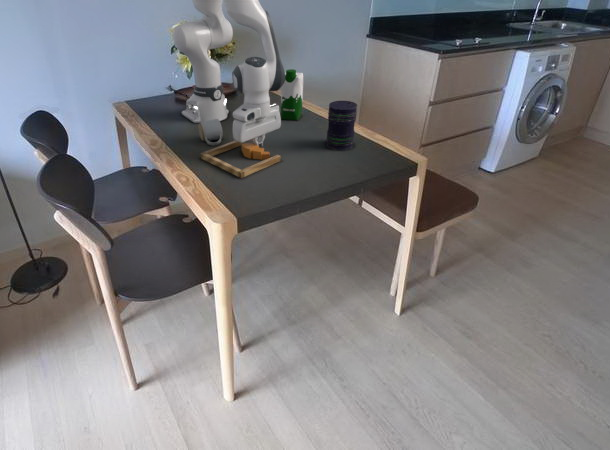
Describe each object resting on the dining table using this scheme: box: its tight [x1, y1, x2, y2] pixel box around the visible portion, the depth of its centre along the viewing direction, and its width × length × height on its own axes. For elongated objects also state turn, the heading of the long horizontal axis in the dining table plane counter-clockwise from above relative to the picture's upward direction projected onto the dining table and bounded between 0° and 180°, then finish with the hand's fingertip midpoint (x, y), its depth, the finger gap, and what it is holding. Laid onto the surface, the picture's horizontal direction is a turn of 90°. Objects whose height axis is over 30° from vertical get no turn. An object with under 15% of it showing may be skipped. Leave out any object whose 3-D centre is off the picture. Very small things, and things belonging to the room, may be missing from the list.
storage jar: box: [326, 100, 358, 151], centre depth 149 cm, size 10×10×15 cm
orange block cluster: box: [240, 142, 271, 161], centre depth 147 cm, size 14×6×4 cm, turn 43°
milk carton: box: [280, 69, 304, 121], centre depth 174 cm, size 9×9×20 cm
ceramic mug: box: [197, 119, 224, 146], centre depth 158 cm, size 11×8×8 cm
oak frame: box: [200, 140, 282, 179], centre depth 145 cm, size 22×18×2 cm
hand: (258, 146), depth 148 cm, fingers closed
